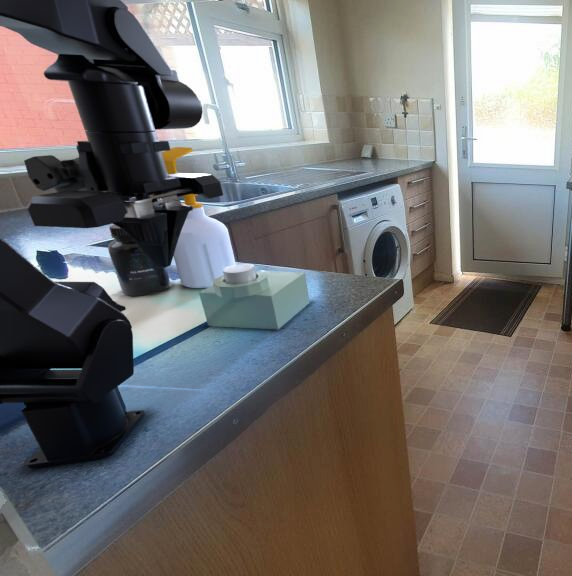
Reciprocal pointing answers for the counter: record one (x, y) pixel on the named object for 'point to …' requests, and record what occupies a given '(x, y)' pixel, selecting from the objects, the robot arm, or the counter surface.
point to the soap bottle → (199, 238)
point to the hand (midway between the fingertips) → (163, 266)
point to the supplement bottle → (135, 266)
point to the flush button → (239, 273)
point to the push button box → (256, 300)
